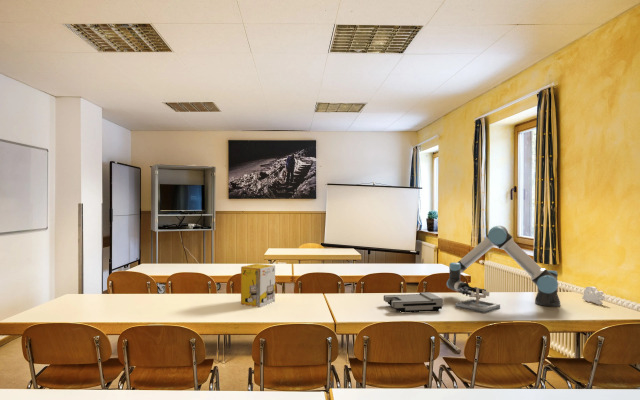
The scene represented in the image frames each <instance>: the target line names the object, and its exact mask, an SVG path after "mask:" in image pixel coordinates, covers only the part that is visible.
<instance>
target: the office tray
mask: <svg viewBox="0 0 640 400" xmlns="http://www.w3.org/2000/svg"><path fill="white" fill-rule="evenodd" d="M383 302H385V303H387V304H388V306H389V305H390V306H391V307H392V308H393V309H395V310H396V311H398V312H400V311H401V312H412V313H420V312H419V311H436V312H439V311H440V310H443V309H442V308H443V307H444V298H442V297H439V296H437V295H436V294H434V293H433V292H430V291H420V292H419V293H417V294H415V293H414V294H386V295H383ZM401 312H400V313H401Z"/></svg>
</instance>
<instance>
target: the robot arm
mask: <svg viewBox="0 0 640 400" xmlns="http://www.w3.org/2000/svg"><path fill="white" fill-rule="evenodd" d="M494 247H497V248H498V249H499V250H504V252H506V254H508V255H509V257H510V258H512V259H513V261H515V263H517V265H519V267H521V268H522V269H523V270H524V272H526V274H527V275H528V276H529V277H530V280H531V281H532V283H534V284H535V286H536V287H537V294H536V296H535V299H534V303H535V305H539V306H543V307H550V308H552V307H553V308H554V307H555V308H556V307H560V306H561V300H560V298H559V295H558V287H559V283H558V271H557V270H548V269H547V268H543V267H541V266H540V265H539V264H538V263H537V262H536V261H535V260H534V259H533V258H532V257H531V256H530V255H528V253H526V251H524V250H523V249H522V248H521V247H520V246H519V245H518V243H516V242H515V241H514V237H513V236H512V235H511V234H510V233H509V232H508V229H507V228H506V227H504V226H503V225H496V226H493V227H491V228H490V229H489V231H488V233H487V235H486V236H485V238H484V239H483V240H481V242H479V243H478V244H477V245H476V246H474V247H473V248H472V249H471V250H470V251H468V253H467V254H466V255H464V256H463V257H462V258H461V259H459V260H458V261H457V262H450V263H449V266H448V268H449V275H448V276H449V278H448V280H447V281H446V287H447V288H448V289H450V290H452V291H455V292H457V293H460V294H462V295H465V296H466V297H469V295H470V296H472V297H471V298H476V297H475V294H476V288H479V294H480V295H486V297H490V292H489V291H487V289H485V288H480V287H476V286H474V287H473V286H471V285H469V284H468V283H467V282H464V281H461V274H463V273H464V271H465V270H467V269H468V268H469V267H470V266H471V265H472V264H475V262H476V261H478V260H479V259H480V258H481V257H482V256H484V255H485V254H486V253H487V252H488V251H489V250H491V249H492V248H494Z"/></svg>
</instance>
